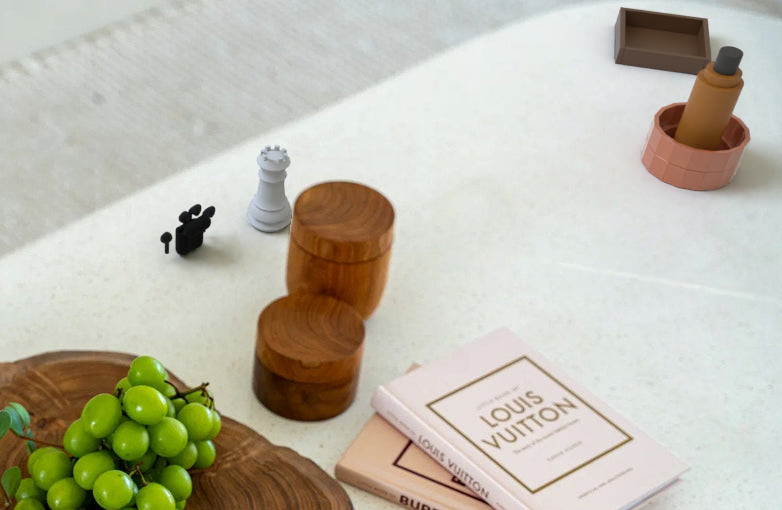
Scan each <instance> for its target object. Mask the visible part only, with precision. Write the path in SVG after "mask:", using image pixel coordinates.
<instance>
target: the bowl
mask: <svg viewBox="0 0 782 510" xmlns="http://www.w3.org/2000/svg"><path fill="white" fill-rule="evenodd" d="M687 102H688V101H684V102H673V103H670V104H667V105H664V106H662V107H660V108H659V109H658V111H656V113H655V114H654V115H653V118H652V120H651V122H650V123H651V124H650V126H649V129H648V131H647V135H646V138H645V140H644V142H643V145H642V148H641V151H640V155H641V157H640V160H641V161H640V162H641V163H642V165H643V166H644V167H645V169H646V171H647V172H648V173H650V174H651V175H652V176H654V177H655V178H657V179H658V180H659V181H661V182H663V183H666V184H668V185H671V186H674V187H676V188H680V189H686V190H690V191H691V190H692V191H698V192H700V191H712V190H713V191H714V190H718V189H720V188H722V187H726V186H728V185H729V184H730V183H731V182H732V180H733V179H734V178H735V176H736V174H737V173H738V170H739V167H740V165H741V164H742V161H743V158H744V155H745V153H746V151H747V149H748V147H749V145H750V142H751V140H752V139H751V131H750V128H749V127H748V125H746V123H745V122H744V121H743V120H742V119H741V117H738V116H737V115H735V114H733V113H732V115H731V118H730V120H729V122H728V125H727V127H726V130H725V132H724V134H723V137H722V139H721V142H720V144H719V147H718V149H717V151H708V150H701V149H695V148H692V147H689V146H687V145H684V144H681V143H678V142H677V141H675V140H674V136H675V133H676V131H677V128H678V125H679V123H680V120H681V117H682V115H683V112H684V110H685V107H686V104H687Z"/></svg>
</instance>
